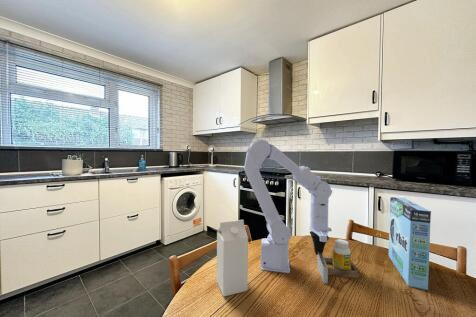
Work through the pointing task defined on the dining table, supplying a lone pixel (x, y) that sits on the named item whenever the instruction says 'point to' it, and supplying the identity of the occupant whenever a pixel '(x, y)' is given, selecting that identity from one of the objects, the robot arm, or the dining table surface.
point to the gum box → (410, 241)
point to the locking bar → (322, 267)
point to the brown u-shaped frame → (342, 270)
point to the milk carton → (232, 257)
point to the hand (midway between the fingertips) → (318, 254)
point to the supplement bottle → (341, 255)
